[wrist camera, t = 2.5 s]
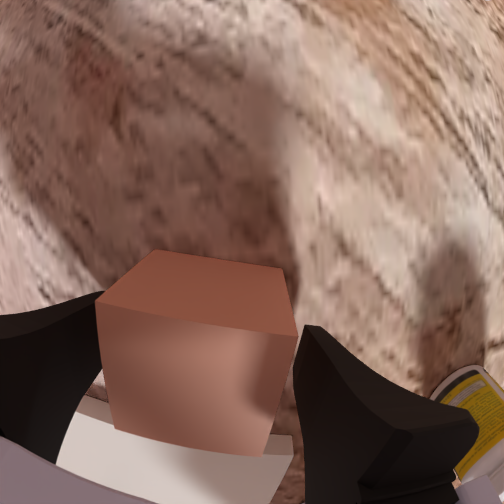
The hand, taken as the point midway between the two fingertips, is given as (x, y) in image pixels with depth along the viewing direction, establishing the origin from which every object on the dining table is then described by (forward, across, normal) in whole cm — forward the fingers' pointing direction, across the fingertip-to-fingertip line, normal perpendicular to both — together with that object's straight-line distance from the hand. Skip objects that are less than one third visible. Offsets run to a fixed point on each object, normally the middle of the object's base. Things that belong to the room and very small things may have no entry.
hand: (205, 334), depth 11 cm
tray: (+1, +5, +14) cm, 15 cm away
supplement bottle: (+2, -15, +4) cm, 16 cm away
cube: (+2, 0, 0) cm, 2 cm away
